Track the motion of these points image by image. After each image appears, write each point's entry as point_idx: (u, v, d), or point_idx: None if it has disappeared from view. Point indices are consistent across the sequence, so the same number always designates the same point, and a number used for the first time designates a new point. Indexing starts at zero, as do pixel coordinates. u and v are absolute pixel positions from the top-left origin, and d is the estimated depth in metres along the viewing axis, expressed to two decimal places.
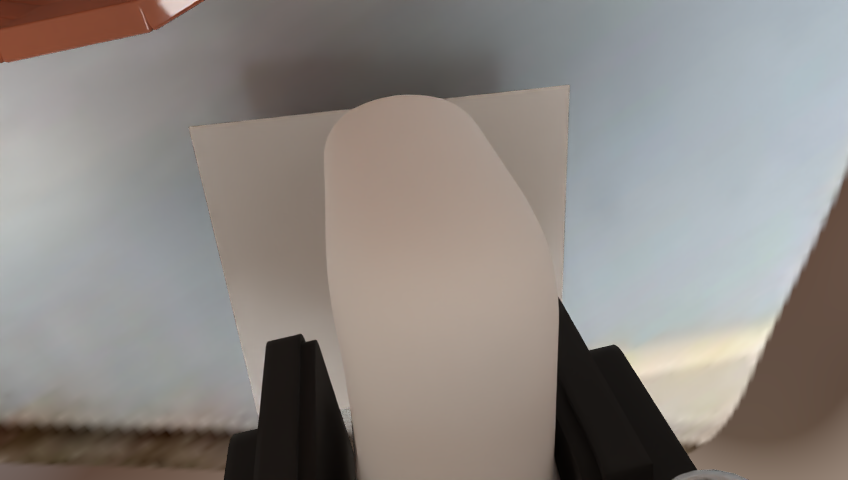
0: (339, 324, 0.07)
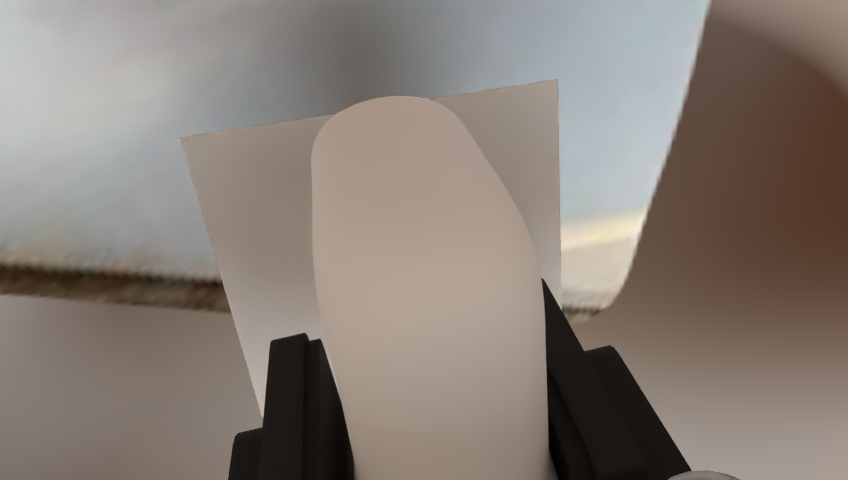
0: (326, 326, 0.07)
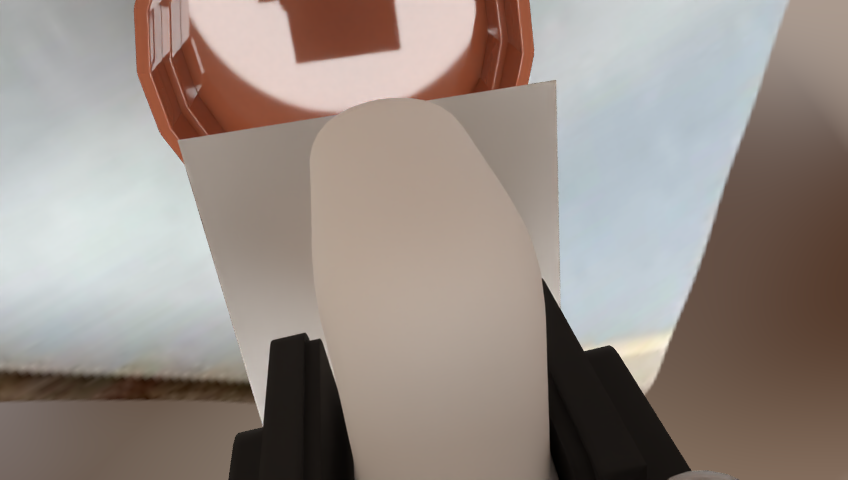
0: (326, 330, 0.07)
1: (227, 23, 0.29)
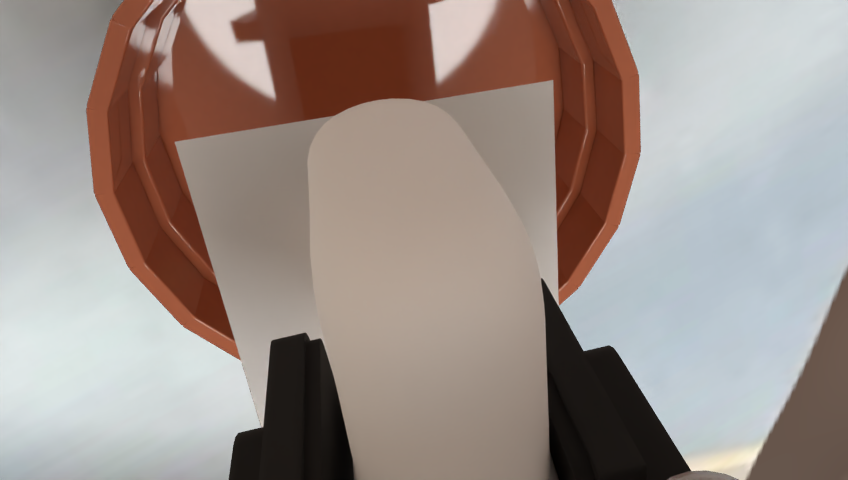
0: (325, 332, 0.07)
1: (221, 104, 0.22)
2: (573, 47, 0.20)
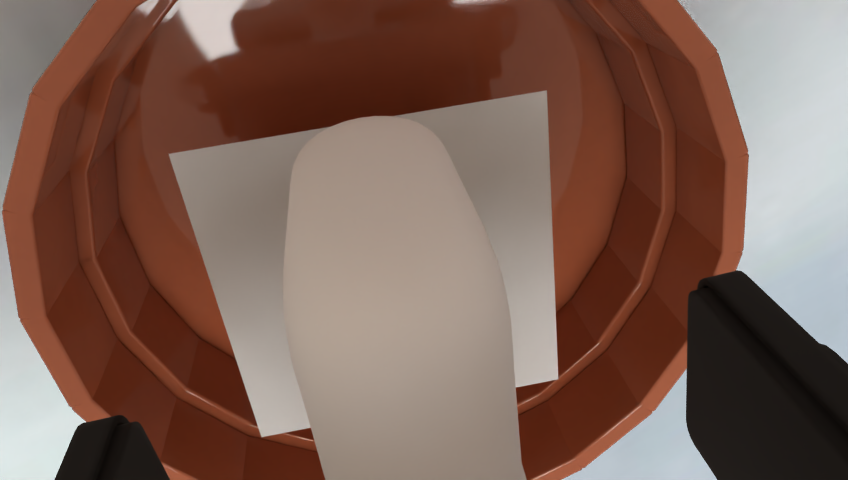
0: (292, 360, 0.07)
1: None
2: (651, 110, 0.16)
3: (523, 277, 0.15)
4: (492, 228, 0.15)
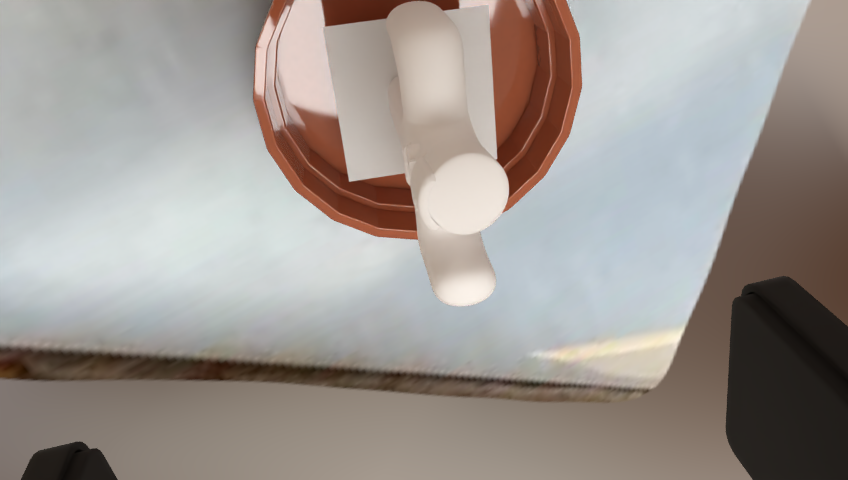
0: (398, 56, 0.24)
1: (317, 55, 0.34)
2: (542, 22, 0.32)
3: (479, 99, 0.32)
4: (464, 71, 0.31)
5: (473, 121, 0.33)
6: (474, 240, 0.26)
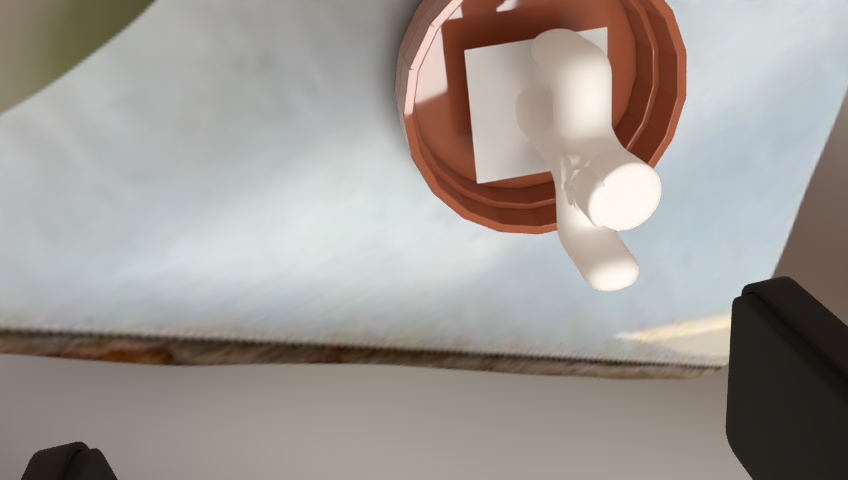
0: (557, 80, 0.28)
1: (444, 72, 0.38)
2: (648, 39, 0.37)
3: None
4: None
5: None
6: (614, 234, 0.30)
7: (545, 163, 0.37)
